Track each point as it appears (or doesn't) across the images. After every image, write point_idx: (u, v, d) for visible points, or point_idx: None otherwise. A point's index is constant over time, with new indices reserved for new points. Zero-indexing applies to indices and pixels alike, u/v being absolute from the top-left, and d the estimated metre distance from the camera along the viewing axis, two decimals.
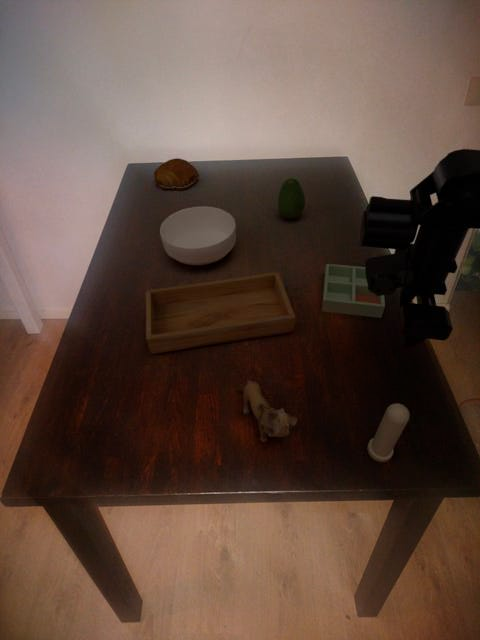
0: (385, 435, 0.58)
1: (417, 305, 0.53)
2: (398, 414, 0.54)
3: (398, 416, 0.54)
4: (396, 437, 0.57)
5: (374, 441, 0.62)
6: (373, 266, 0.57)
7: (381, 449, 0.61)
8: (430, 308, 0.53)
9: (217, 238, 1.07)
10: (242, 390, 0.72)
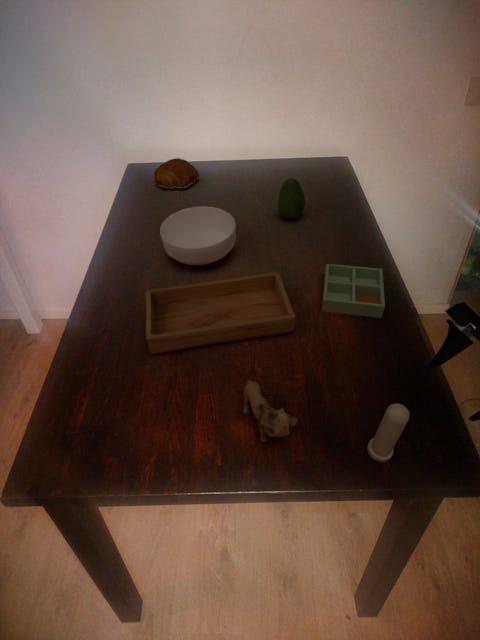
0: (385, 435, 0.58)
1: None
2: (398, 414, 0.54)
3: (398, 416, 0.54)
4: (396, 437, 0.57)
5: (374, 441, 0.62)
6: None
7: (381, 449, 0.61)
8: None
9: (217, 238, 1.07)
10: (242, 390, 0.72)
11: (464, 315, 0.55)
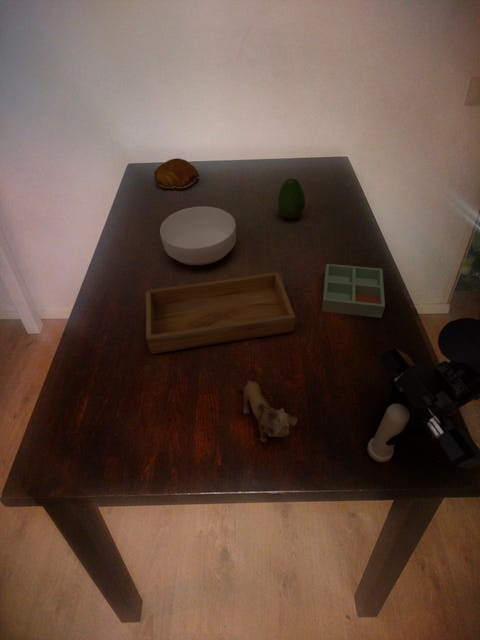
0: (385, 435, 0.58)
1: (459, 431, 0.50)
2: (398, 414, 0.54)
3: (398, 416, 0.54)
4: None
5: (374, 441, 0.62)
6: (423, 378, 0.50)
7: (381, 449, 0.61)
8: (465, 435, 0.51)
9: (217, 238, 1.07)
10: (242, 390, 0.72)
11: (394, 362, 0.58)
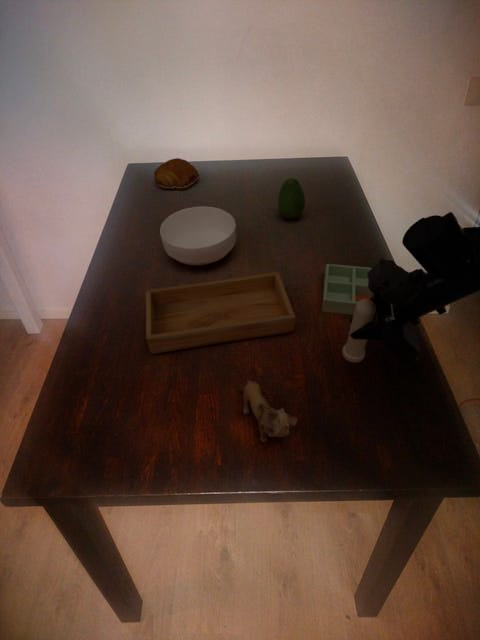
0: (352, 328, 0.65)
1: (404, 325, 0.56)
2: (363, 305, 0.61)
3: (362, 306, 0.61)
4: None
5: None
6: (387, 269, 0.56)
7: (349, 346, 0.68)
8: (411, 333, 0.56)
9: (217, 238, 1.07)
10: (242, 390, 0.72)
11: None
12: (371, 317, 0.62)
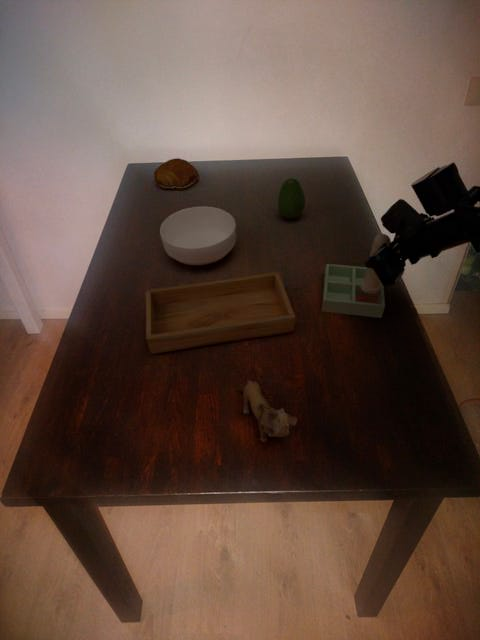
0: None
1: (394, 253, 0.68)
2: (379, 236, 0.74)
3: (378, 237, 0.74)
4: None
5: None
6: (400, 206, 0.68)
7: (365, 275, 0.81)
8: (397, 262, 0.68)
9: (217, 238, 1.07)
10: (242, 390, 0.72)
11: None
12: None
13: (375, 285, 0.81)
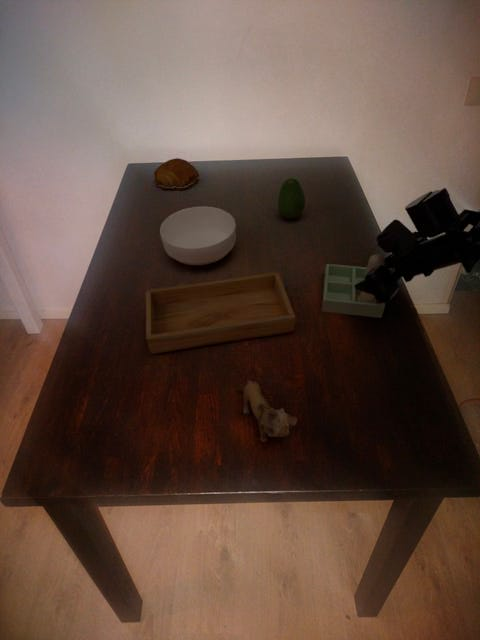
0: None
1: (389, 272, 0.71)
2: (374, 257, 0.78)
3: (373, 257, 0.78)
4: None
5: None
6: (395, 227, 0.71)
7: (361, 292, 0.85)
8: (392, 280, 0.71)
9: (217, 238, 1.07)
10: (242, 390, 0.72)
11: None
12: None
13: (370, 301, 0.85)
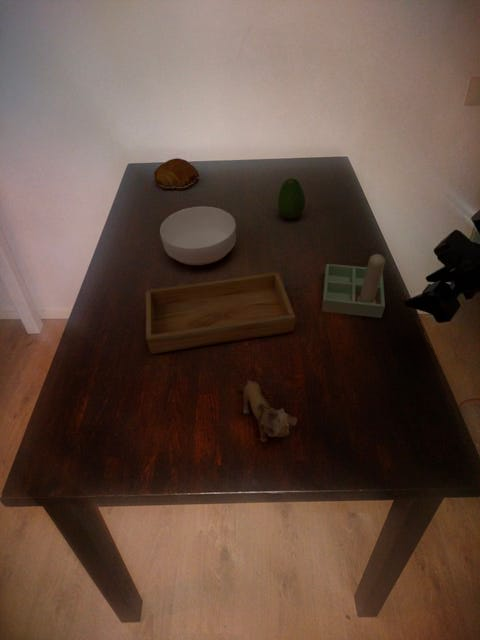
0: None
1: (450, 288, 0.63)
2: (374, 257, 0.78)
3: (373, 257, 0.78)
4: (368, 281, 0.81)
5: None
6: (456, 238, 0.64)
7: (361, 292, 0.85)
8: (453, 298, 0.63)
9: (217, 238, 1.07)
10: (242, 390, 0.72)
11: None
12: (377, 269, 0.78)
13: (370, 301, 0.85)
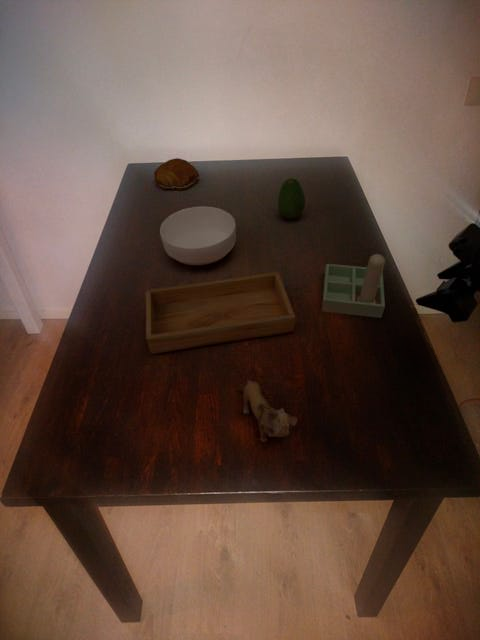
0: None
1: (466, 286, 0.59)
2: (374, 257, 0.78)
3: (373, 257, 0.78)
4: (368, 281, 0.81)
5: None
6: (473, 232, 0.60)
7: (361, 292, 0.85)
8: (470, 296, 0.59)
9: (217, 238, 1.07)
10: (242, 390, 0.72)
11: None
12: (377, 269, 0.78)
13: (370, 301, 0.85)
